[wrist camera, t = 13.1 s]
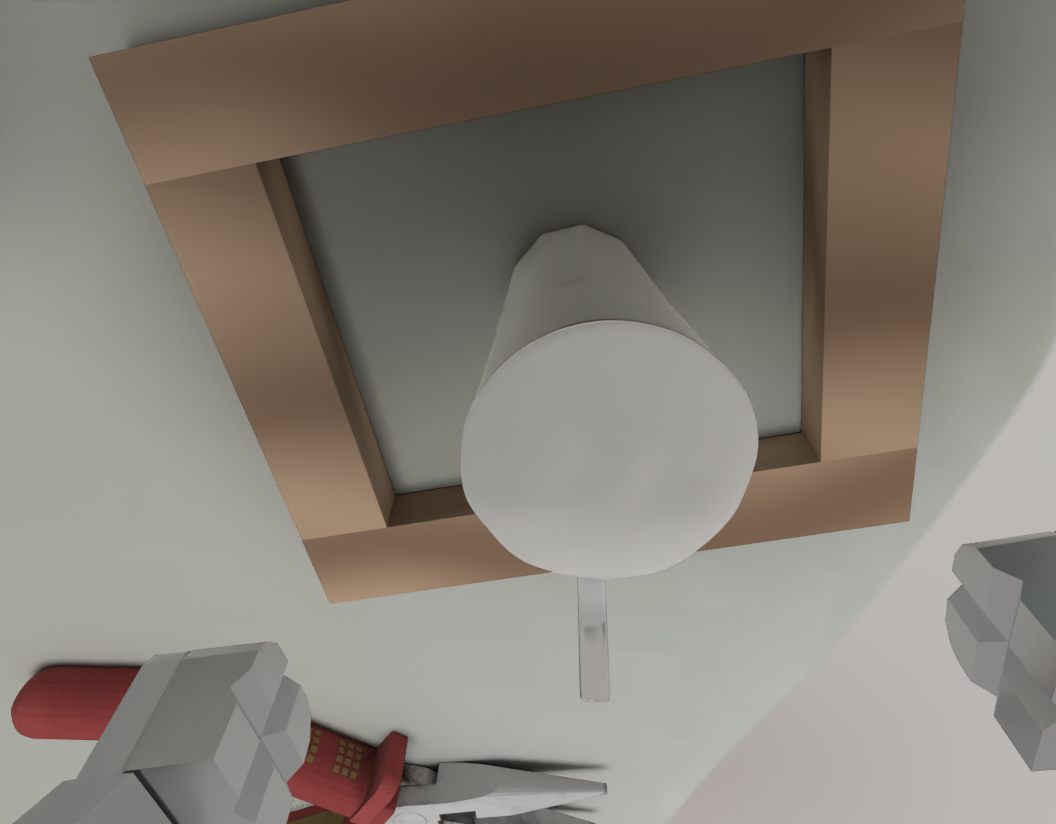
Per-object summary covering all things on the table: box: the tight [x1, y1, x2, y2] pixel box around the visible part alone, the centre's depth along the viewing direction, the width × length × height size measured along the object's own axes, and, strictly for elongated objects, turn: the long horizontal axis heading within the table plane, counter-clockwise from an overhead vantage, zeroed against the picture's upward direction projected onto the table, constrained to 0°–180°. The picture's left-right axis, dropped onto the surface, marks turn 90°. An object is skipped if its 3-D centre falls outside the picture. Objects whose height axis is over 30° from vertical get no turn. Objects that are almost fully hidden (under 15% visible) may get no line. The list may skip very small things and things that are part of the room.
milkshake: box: [461, 224, 758, 702], centre depth 14 cm, size 4×5×10 cm
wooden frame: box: [89, 0, 965, 604], centre depth 17 cm, size 15×17×2 cm
